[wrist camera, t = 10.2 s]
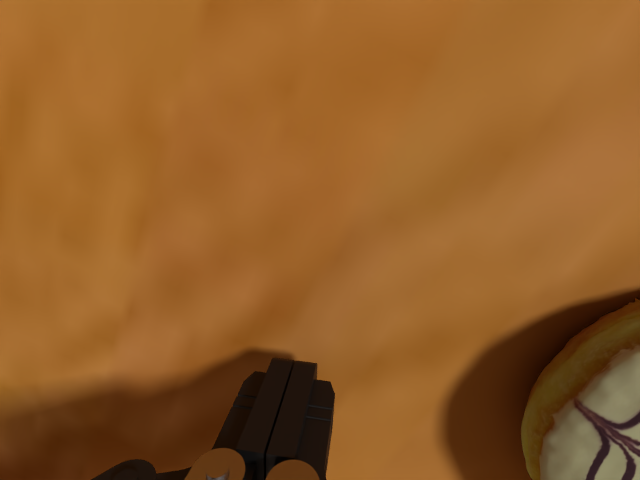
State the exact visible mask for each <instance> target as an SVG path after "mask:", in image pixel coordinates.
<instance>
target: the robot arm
mask: <svg viewBox="0 0 640 480" xmlns="http://www.w3.org/2000/svg"><path fill="white" fill-rule="evenodd" d="M334 399H335V393H334V391H333V388H332V385H331V382H329V381H322V380H317V363H311V362H303V361H294V360H288V359H280V358H273V359H272V360H271V363H270V365H269V368H268V370H267V373H264V372H257V371H255V372H254V373H253V374H252V375H250V376H249V377H248V378H247V379H246V380H245V381H244V382H243V385H242V387H241V389H240V391H239V393H238V397H236V399H235V402H234V404H233V407H232V408H231V410H230V412H229V414H228V416H227V419H226V421H225V423H224V425H223V427H222V429H221V431H220V433H219V436H218V438H217V440H216V442H215V444H214V446H213V448H212V450H210V451H208V452H206V453H205V454H203V455H202V456H201V457H199V458H198V459H197V460H196V462H195V463H194V464H193V466H192V467H190V468H187V469H183V470H179V471H172V472H165V473H159V474H156V471H155V468H154V467H153V465H152V464H150V463H149V462H147V461H145V460H138V459H135V460H129V461H125V462H123V463H120V464H118V465H116V466H114V467H113V468H111V469H109V470H107V471H106V472H104V473H102V474H100V475H99V476H97V477H95V478H93V479H92V480H326V470H327V463H328V456H329V448H330V441H331V434H332V425H333V412H334Z"/></svg>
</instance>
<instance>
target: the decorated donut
mask: <svg viewBox="0 0 640 480" xmlns="http://www.w3.org/2000/svg"><path fill="white" fill-rule="evenodd" d="M521 441H522V448H523V454H524V457H525V461H526V468H527V471H528V473H529V475H530V477H531V478H532V480H640V300H638V299H636V298H635V302H633V303H630V302H629V304H628V305H624V307H623V308H621V309H619V310H617V311H615V312H611V313H608V314H606V315H604V316H602V317H600V318H599V320H598V321H596V322H594V323H593V324H592V325H590V326H588V327H587V328H584V329H583V330H582V331H581V332H580V333H579V334H577V335H576V336H574V337H573V338H571V339H570V340H569V341H568V342H567V343H566V345H565V347H564V348H563V350H562V351H560V352H559V353H558V354H557V355H556V356H555V357H554V358H553V359H552V361H551V362H550V363H549V364H548V365H547V366H546V367H545V368H544V369H543V371H542V372H541V374H540V375H539V377H538V379H537V381H536V383H535V384H534V386H533V387H532V389H531V392H530V394H529V398H528V402H527V406H526V408H525V412H524V417H523V420H522V425H521Z"/></svg>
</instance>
